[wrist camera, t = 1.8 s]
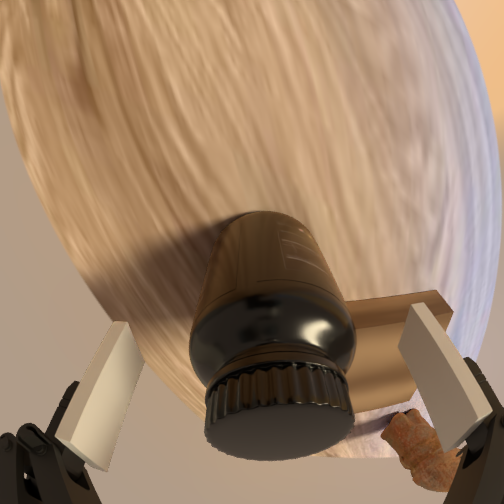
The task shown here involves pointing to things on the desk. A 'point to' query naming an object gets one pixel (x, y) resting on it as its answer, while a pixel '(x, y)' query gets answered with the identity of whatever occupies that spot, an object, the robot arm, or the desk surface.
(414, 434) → the figurine
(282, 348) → the supplement bottle
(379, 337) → the pedestal
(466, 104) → the desk surface
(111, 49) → the desk surface
